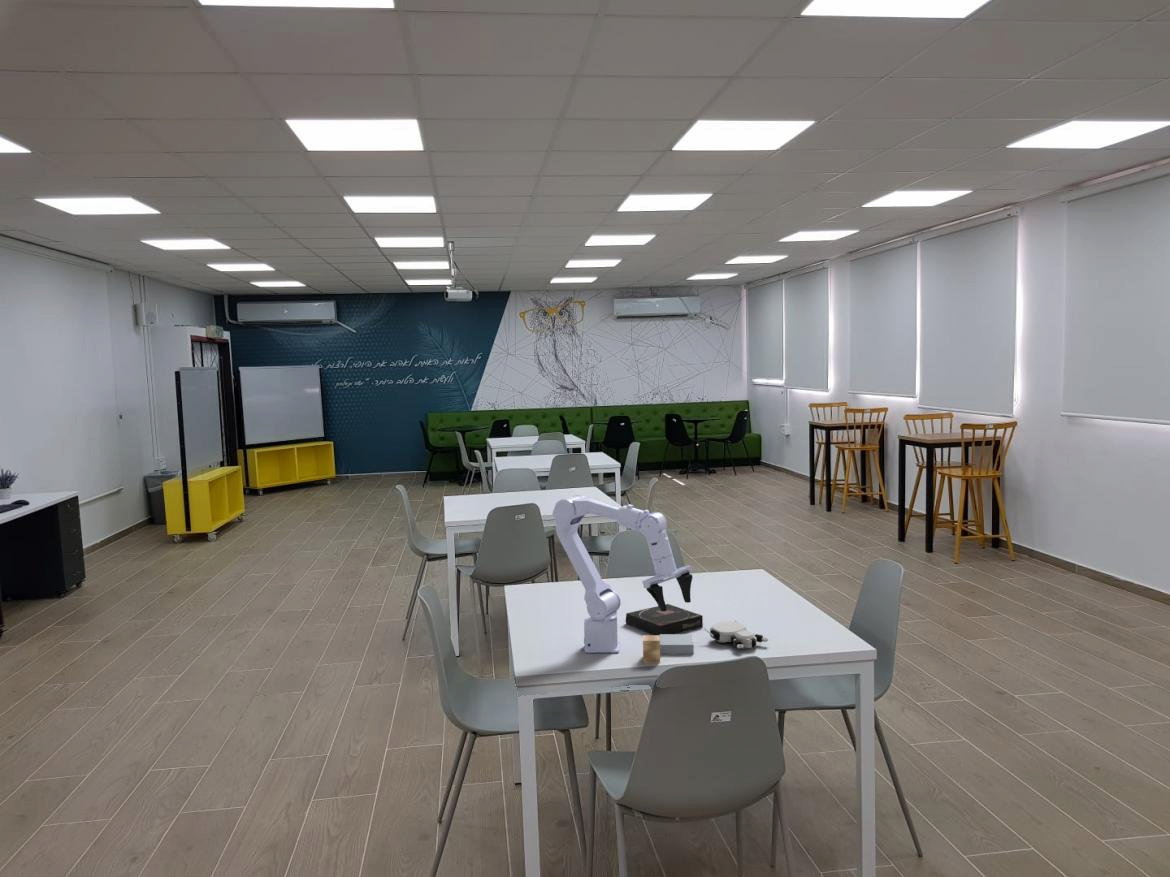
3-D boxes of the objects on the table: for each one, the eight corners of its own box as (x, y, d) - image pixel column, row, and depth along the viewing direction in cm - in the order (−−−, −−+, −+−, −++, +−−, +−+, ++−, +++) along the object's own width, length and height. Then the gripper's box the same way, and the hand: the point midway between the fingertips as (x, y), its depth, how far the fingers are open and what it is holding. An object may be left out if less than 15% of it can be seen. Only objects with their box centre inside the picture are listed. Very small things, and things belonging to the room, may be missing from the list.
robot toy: (770, 649, 226) (733, 632, 238) (771, 634, 225) (734, 617, 238) (738, 658, 219) (701, 640, 232) (739, 642, 219) (702, 625, 231)
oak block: (643, 662, 215) (642, 640, 215) (643, 656, 220) (642, 635, 219) (660, 662, 215) (659, 640, 215) (659, 656, 219) (659, 635, 219)
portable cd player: (666, 615, 259) (666, 603, 258) (702, 628, 244) (702, 615, 244) (625, 625, 250) (625, 612, 249) (660, 639, 235) (660, 626, 235)
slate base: (660, 655, 222) (660, 644, 221) (659, 644, 231) (659, 634, 230) (693, 655, 221) (693, 644, 221) (691, 644, 230) (691, 634, 230)
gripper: (646, 564, 210) (660, 615, 210) (692, 549, 216) (706, 598, 216) (634, 565, 217) (647, 614, 216) (679, 550, 223) (692, 598, 222)
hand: (676, 606), depth 216 cm, fingers open, 7 cm apart
